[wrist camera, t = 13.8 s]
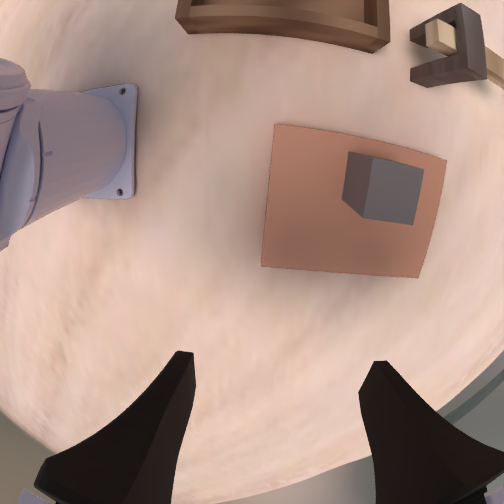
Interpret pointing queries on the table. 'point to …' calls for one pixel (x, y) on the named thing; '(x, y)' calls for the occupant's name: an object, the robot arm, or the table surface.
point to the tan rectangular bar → (446, 43)
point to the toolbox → (342, 29)
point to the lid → (349, 204)
